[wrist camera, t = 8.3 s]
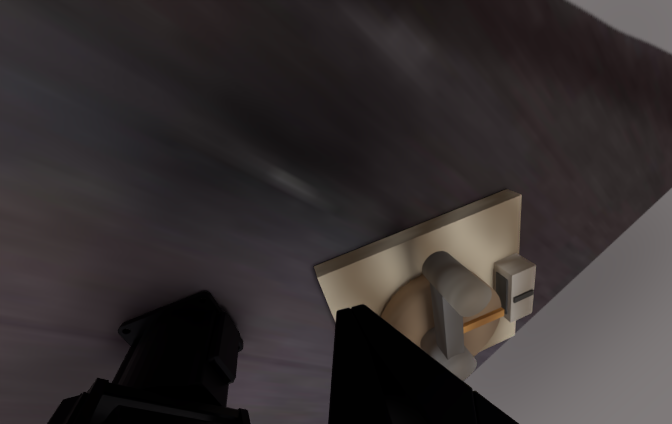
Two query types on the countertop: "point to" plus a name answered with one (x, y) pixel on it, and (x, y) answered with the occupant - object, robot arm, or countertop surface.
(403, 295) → the crank handle
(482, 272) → the stand
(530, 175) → the countertop surface
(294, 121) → the countertop surface
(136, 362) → the robot arm
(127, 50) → the countertop surface
